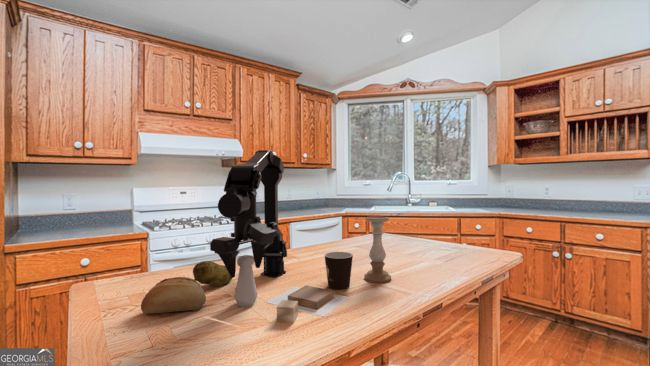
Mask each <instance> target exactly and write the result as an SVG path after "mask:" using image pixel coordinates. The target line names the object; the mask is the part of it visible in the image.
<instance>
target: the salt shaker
mask: <svg viewBox="0 0 650 366" xmlns="http://www.w3.org/2000/svg"><path fill="white" fill-rule="evenodd" d="M236 264H237V266H238V267H239V268H238V270H239V271H238V276H237V282H236V288H235V293H234V300H235V302H236V304H237V306H238V307H240V308H247V307H251V306H253V305H254V304H255V303H256V301H257V298H258V291H257V285H256V279H255V276H254V270H253V266H254V265H255V262H254V257H253V255H250V254H249V255H248V254H244V255H239V257H238V258H236Z"/></svg>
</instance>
